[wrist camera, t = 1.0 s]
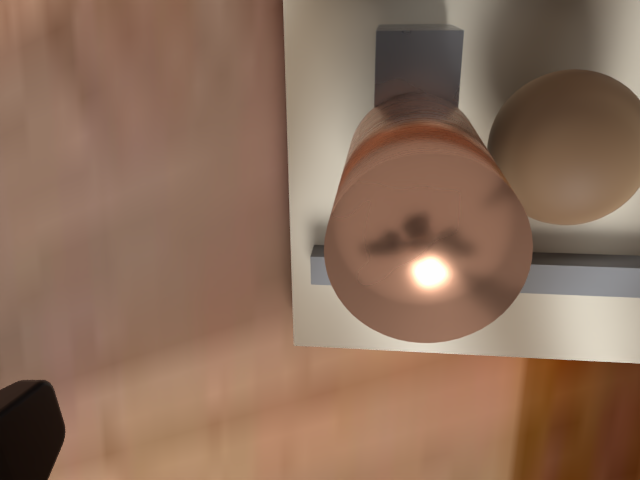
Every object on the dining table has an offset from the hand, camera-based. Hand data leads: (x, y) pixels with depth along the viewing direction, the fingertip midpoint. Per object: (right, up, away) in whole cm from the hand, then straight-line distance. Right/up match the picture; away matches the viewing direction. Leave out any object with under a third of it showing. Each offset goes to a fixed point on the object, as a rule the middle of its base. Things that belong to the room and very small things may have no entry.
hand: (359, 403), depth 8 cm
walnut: (+6, +5, +9) cm, 12 cm away
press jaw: (+2, +6, +10) cm, 12 cm away
